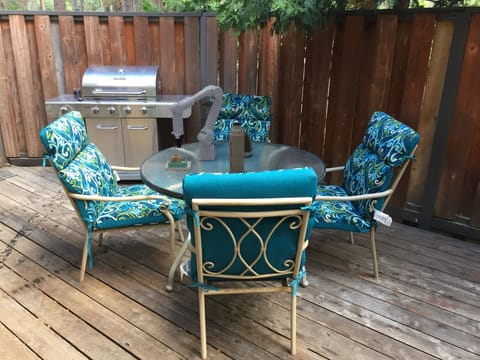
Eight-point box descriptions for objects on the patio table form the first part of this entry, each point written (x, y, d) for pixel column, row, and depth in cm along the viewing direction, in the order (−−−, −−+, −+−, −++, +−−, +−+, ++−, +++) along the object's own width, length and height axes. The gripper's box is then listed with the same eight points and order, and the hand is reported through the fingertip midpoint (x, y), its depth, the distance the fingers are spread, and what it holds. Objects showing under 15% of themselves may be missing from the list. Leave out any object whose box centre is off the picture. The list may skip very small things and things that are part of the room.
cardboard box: (181, 163, 236) (180, 154, 234) (180, 166, 230) (179, 157, 228) (173, 163, 236) (172, 154, 234) (172, 166, 230) (171, 157, 228)
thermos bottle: (229, 175, 222) (229, 124, 212) (229, 170, 229) (229, 121, 219) (244, 175, 222) (245, 124, 213) (243, 170, 230) (243, 121, 220)
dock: (191, 163, 241) (191, 156, 240) (190, 170, 230) (189, 163, 229) (167, 163, 240) (167, 157, 239) (164, 170, 229) (164, 163, 228)
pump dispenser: (237, 158, 251) (237, 134, 246) (234, 153, 261) (234, 130, 255) (253, 157, 253) (254, 133, 248) (250, 153, 263) (250, 129, 257)
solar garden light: (222, 145, 280) (221, 101, 269) (217, 150, 269) (216, 104, 258) (205, 144, 282) (204, 100, 272) (199, 148, 271) (198, 103, 261)
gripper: (172, 122, 241) (173, 144, 246) (169, 127, 228) (171, 151, 232) (184, 122, 242) (185, 144, 246) (182, 127, 228) (183, 151, 233)
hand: (179, 147), depth 239 cm, fingers closed
